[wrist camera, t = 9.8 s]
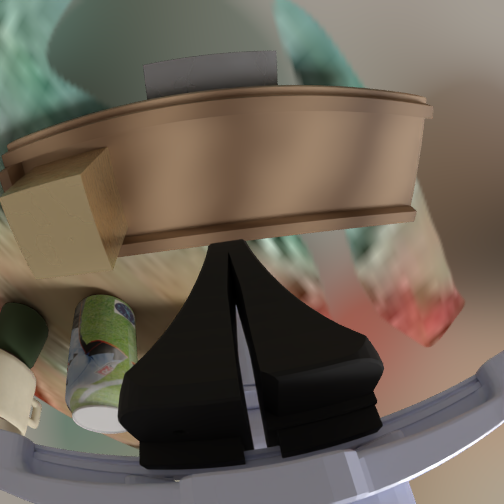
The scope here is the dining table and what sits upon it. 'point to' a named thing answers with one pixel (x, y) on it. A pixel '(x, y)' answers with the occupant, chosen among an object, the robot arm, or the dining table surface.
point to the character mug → (19, 366)
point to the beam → (246, 161)
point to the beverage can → (99, 361)
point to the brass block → (68, 215)
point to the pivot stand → (210, 73)
